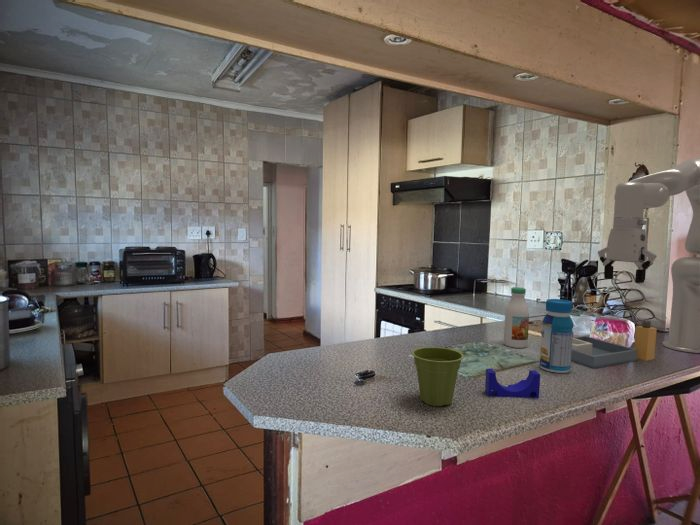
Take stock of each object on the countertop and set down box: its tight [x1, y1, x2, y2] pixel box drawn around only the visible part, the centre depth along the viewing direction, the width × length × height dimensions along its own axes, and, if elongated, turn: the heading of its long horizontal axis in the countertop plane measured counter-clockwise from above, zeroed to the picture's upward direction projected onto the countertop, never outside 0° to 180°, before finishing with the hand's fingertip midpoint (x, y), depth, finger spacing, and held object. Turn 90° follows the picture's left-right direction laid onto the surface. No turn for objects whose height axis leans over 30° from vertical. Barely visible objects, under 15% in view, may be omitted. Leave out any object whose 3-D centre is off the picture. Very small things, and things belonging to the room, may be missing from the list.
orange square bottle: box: [633, 320, 658, 362], centre depth 139 cm, size 4×4×12 cm
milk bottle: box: [503, 286, 530, 349], centre depth 150 cm, size 8×8×20 cm
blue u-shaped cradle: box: [484, 368, 541, 399], centre depth 108 cm, size 12×4×6 cm, turn 87°
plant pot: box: [411, 346, 465, 407], centre depth 102 cm, size 12×12×11 cm
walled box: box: [571, 335, 638, 369], centre depth 140 cm, size 20×18×5 cm
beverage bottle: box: [539, 298, 575, 374], centre depth 126 cm, size 8×8×20 cm
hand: (623, 280), depth 133 cm, fingers open, 9 cm apart
